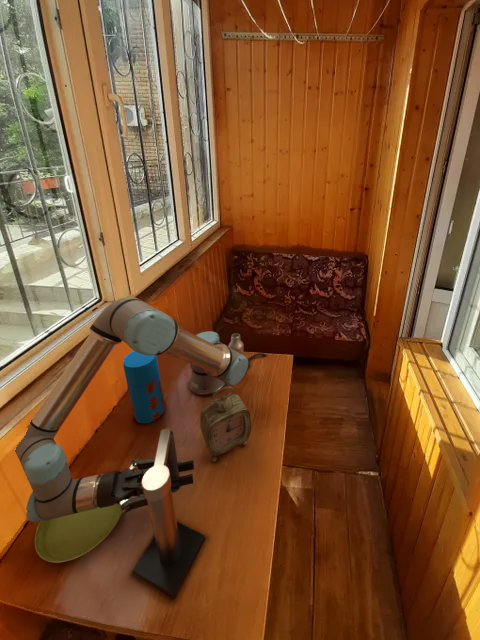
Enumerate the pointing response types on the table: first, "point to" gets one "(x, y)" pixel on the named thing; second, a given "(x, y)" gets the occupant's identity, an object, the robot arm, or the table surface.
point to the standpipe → (168, 549)
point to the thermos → (144, 386)
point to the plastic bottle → (236, 343)
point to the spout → (162, 468)
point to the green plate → (75, 533)
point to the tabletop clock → (225, 423)
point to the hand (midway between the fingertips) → (193, 471)
